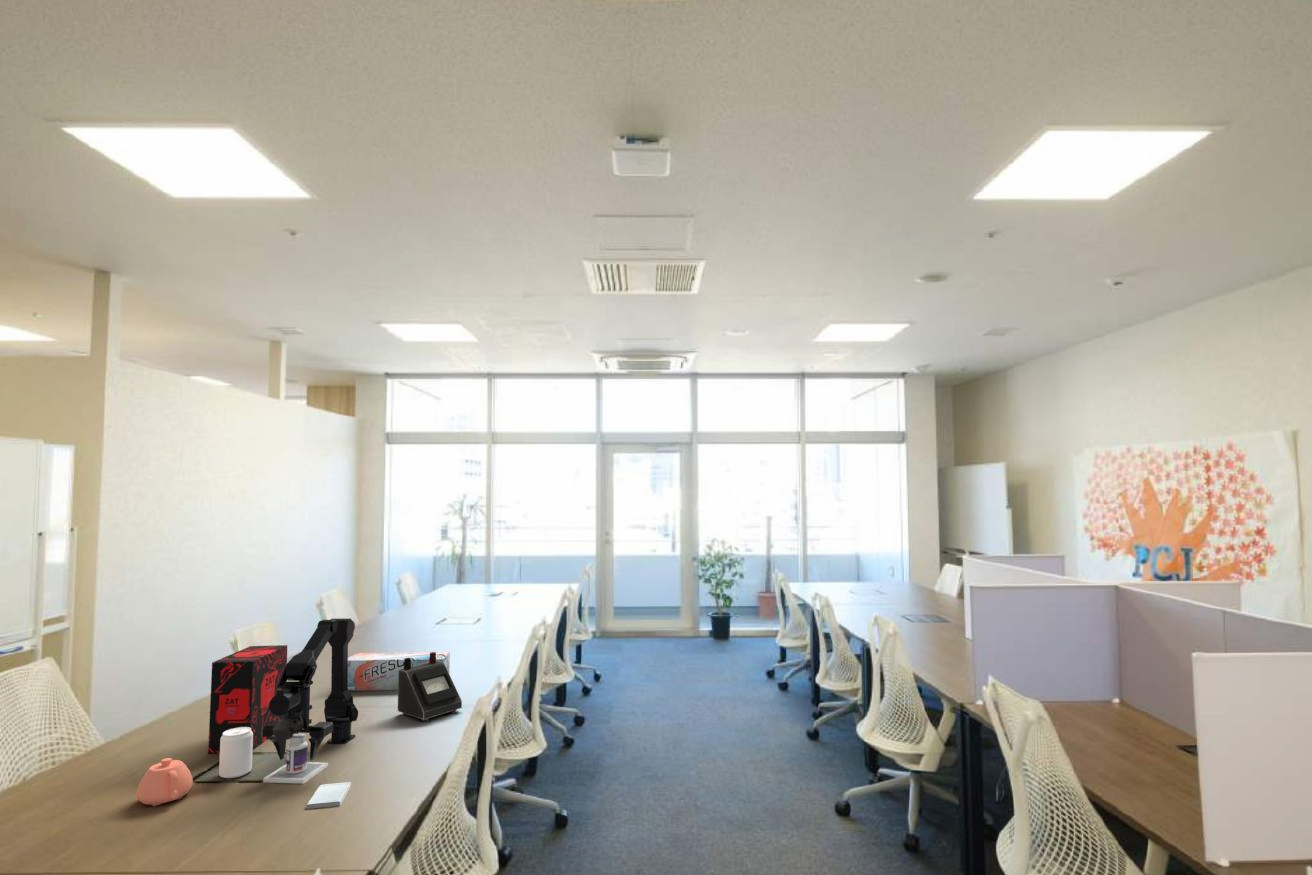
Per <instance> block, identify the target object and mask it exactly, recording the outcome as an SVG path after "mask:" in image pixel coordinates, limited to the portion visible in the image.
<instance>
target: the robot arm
mask: <svg viewBox="0 0 1312 875" xmlns="http://www.w3.org/2000/svg"><path fill="white" fill-rule="evenodd" d="M355 628H356V624H355V621H354V620H352V618H330V619H322V620H319V621H318V623H317V627H316V629H315V631H314V632H313V633H312V635H311V636H310V638H309V639H308V641H307V643H306V644H305V645H304V647H303V649H302V650H301V651H300V652H299V653H297V654H295V655H293V656H292V657H291V658H290V660H289V661H287V665H286V666H285V668H284V671H283V673H282V676H281V679H280V681H279V684H278V688H282V689H279V690H277V695H276V696H274V697H273V698H272V699H271V701H270V703H269V709H270V711H271V713H273V714H274V715H277V716H281V715H283V714H284V717H283V719H282V720H280V721H273V722H271V723H269V724H267V725H265V726H264V727H263V729H262V737H266V739H268V741H271V743H273V745H274V747H275V750H276V752H277V755H278V757H279V760H281V761H282V760H284V758H285V756H286V755H285V754H286V749H287V745H286V744H287V741H288V740H290V738H291V737H292V736H293V735H295V734H306V733H307V734H308V735H309V737H310V738H308V742H309V743H310V746H309V747H310V748H309V749H310V750H309V751H310V752H309V760H310V761H309V762H312V761H313V760H314V759H315V757H316V755H317V753H318V750H319V748H320V747H321V745H322V742H323V740H324V739H325V737H327V736H328V735H329V734H331V738H329V739H327V741H326V743H327V744H330V743H331V744H332V743H333V744H346V743H348V742H349V741H351V740H352V739H353V738H356V734H352V723H353V722H357V721H358V717H359V710H358V708H357V707H356V704H354V696H353V694H352V693H351V691H349V690H348V658H349V643H350V642H351V640H352V639H353V637H354V632H355ZM327 643H328V644H329V645H330V647H331V678H330V679H331V680H330V682H331V684H330V686H331V688H330V690H331V691H330V693H329V694H328V697H327V698H326V699H324V708H323V709H324V710H323V713H324V719H325V721H319V722H317V723H315V724H314V725H311V724H313V723H312V722H313V720H312V719H310V710H312V709H313V704H310V703H311V702H310V700H311V699H310V698H311V686H312V685H313V684H314V681H313V678H314V676H315V674H316V670H317V669H318V665H317V660H318V659H319V657H320V655H321V653H322V652H323V650H324V648H325V647H326V645H327Z"/></svg>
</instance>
